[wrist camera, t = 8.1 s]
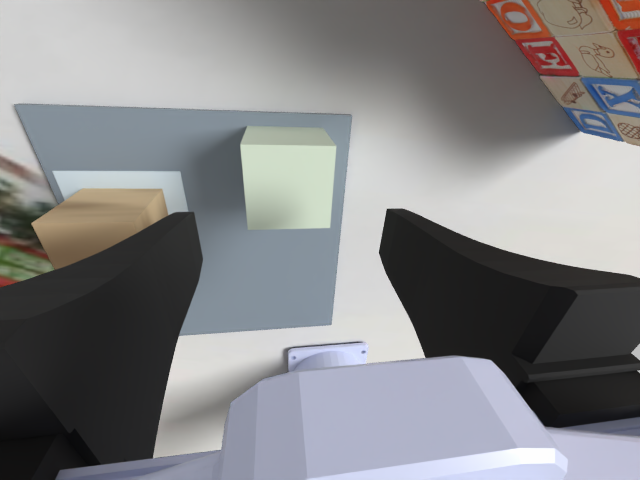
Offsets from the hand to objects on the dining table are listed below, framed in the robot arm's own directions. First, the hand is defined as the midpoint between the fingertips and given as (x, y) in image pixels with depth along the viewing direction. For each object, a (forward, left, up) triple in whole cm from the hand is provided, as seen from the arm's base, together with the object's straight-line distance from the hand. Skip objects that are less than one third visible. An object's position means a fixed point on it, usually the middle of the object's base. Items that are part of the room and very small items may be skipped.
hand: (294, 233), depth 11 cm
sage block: (0, 0, -9) cm, 9 cm away
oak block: (-4, +10, -9) cm, 14 cm away
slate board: (-6, +5, -9) cm, 12 cm away
